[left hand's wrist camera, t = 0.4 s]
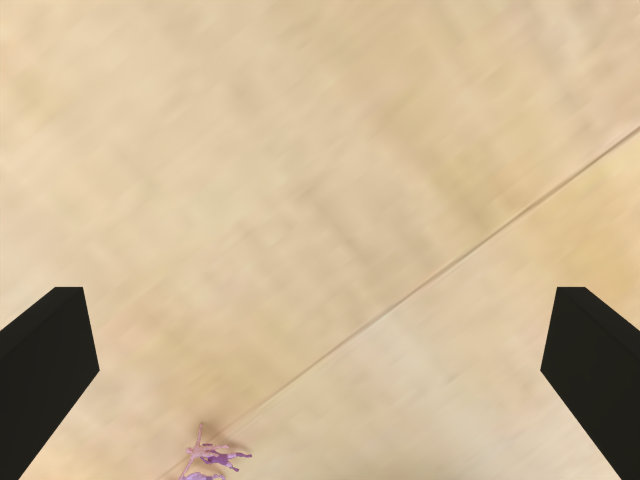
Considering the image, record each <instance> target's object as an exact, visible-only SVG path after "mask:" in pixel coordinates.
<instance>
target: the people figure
mask: <svg viewBox="0 0 640 480" xmlns="http://www.w3.org/2000/svg"><path fill="white" fill-rule="evenodd" d="M201 428H202V423H201V424H200V427H199V434H198V439H197V442H196V444H195V446H194V448H193V449H191V448H187V449H186V453H189V454H191V457H190V461H189V463H188V465H187V466H186V468H185V470H184V471H183V473H182V474H181V476H180V477H179V480H212V479H214V478H217V477H221V478H222V479H223V480H225V477H224V476H223V475H218V474H214V475H212V476H206V475H204V474H202V475H201V473H200V472H196V473H192V474H190V475H188V476H187V477H184V473H185V472H186V471H187V470H188V468H189V467H190V465H191V464H192V462H193V460H194V458H196V457H200V458H201V459H202V460H203V461H204V462H205V463H206V464H212V463H220V464H222V465H225V466H227V467H229V468H230V469H233V470H235V471H236V472H238V471H239V469H237V468H234V467H233V465H232V463H231V462H229V461H227V459H231V458H234V457H237V456H240V457H252V455H251V454H250V455H244V454H242V453H228V454H220V453H218V452H216V451H215V449H218V448H229V446H228V445H215V446H213V445H212V444H203V445H202V446H204V445H206V446H204V447H201V446H199V444H200V439H201ZM209 451H210V452H209ZM201 456H202V457H201ZM203 457H204V458H208V461H206V460H204V459H203Z"/></svg>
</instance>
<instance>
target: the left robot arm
mask: <svg viewBox="0 0 640 480" xmlns="http://www.w3.org/2000/svg"><path fill="white" fill-rule="evenodd" d="M99 371H100V369H99V364H98V360H97V355H96V350H95V345H94V340H93V335H92V330H91V325H90V320H89V315H88V310H87V305H86V300H85V295H84V290H83V287H55V288H53V289H52V290H51V291H50V292H48V293H47V294H46V295H45V296H43V297H42V298H41V299H40V300H38V301H37V302H36V303H35V304H33V305H32V306H31V307H30V308H28V309H27V310H26V311H25V312H23V313H22V314H21V315H20V316H18V317H17V318H16V319H15V320H13V321H12V322H11V323H10V324H8V325H7V326H6V327H5V328H3V329H2V330H1V331H0V480H19V478H20V477H21V476H22V474H23V473H24V472H25V470H26V469H27V467H28V466H29V465H30V463H31V462H32V461H33V459H34V458H35V457H36V455H37V454H38V453H39V451H40V450H41V449H42V447H43V446H44V445H45V443H46V442H47V441H48V439H49V438H50V437H51V435H52V434H53V433H54V431H55V430H56V429H57V427H58V426H59V425H60V423H61V422H62V420H63V419H64V418H65V416H66V415H67V414H68V412H69V411H70V410H71V408H72V407H73V406H74V404H75V403H76V402H77V400H78V399H79V398H80V396H81V395H82V394H83V392H84V391H85V390H86V388H87V387H88V386H89V384H90V383H91V382H92V380H93V379H94V377H95V376H96V375H97V373H98V372H99ZM540 371H541V372H542V373H543V375H544V376H545V377H546V379H547V380H548V382H549V383H550V384H551V386H552V387H553V388H554V390H555V391H556V392H557V394H558V395H559V396H560V398H561V399H562V400H563V402H564V403H565V404H566V406H567V407H568V408H569V410H570V411H571V412H572V414H573V415H574V416H575V418H576V419H577V420H578V422H579V423H580V425H581V426H582V427H583V429H584V430H585V431H586V433H587V434H588V435H589V437H590V438H591V439H592V441H593V442H594V443H595V445H596V446H597V447H598V449H599V450H600V451H601V453H602V454H603V455H604V457H605V458H606V459H607V461H608V462H609V463H610V465H611V466H612V467H613V469H614V470H615V472H616V473H617V474H618V476H619V477H620V478H621V480H640V331H639V330H638V329H637V328H635V327H634V326H633V325H632V324H630V323H629V322H628V321H627V320H625V319H624V318H623V317H622V316H620V315H619V314H618V313H617V312H615V311H614V310H613V309H612V308H610V307H609V306H608V305H607V304H605V303H604V302H603V301H602V300H600V299H599V298H598V297H597V296H595V295H594V294H593V293H592V292H590V291H589V290H588V289H587V288H585V287H557V290H556V295H555V300H554V305H553V310H552V315H551V320H550V325H549V330H548V335H547V340H546V345H545V350H544V355H543V359H542V364H541V369H540Z"/></svg>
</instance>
